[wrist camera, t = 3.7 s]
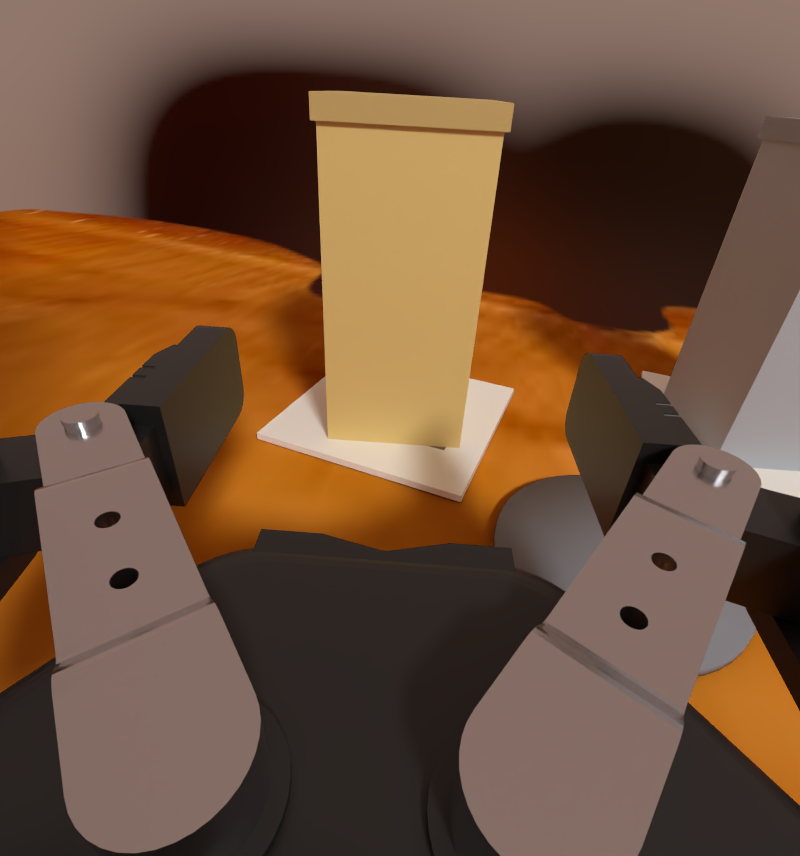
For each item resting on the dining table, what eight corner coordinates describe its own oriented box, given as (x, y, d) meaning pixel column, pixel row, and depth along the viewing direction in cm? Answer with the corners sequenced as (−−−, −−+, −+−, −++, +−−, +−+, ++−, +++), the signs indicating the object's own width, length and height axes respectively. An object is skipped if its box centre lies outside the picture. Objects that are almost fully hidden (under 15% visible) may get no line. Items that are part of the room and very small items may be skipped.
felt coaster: (463, 612, 15) (465, 603, 15) (520, 461, 21) (522, 454, 21) (776, 730, 12) (784, 722, 12) (735, 521, 19) (740, 513, 18)
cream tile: (257, 438, 21) (256, 433, 21) (354, 356, 28) (354, 351, 28) (460, 502, 19) (461, 496, 19) (513, 393, 26) (514, 388, 26)
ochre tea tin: (323, 440, 21) (308, 91, 14) (343, 375, 26) (339, 90, 19) (463, 450, 21) (514, 103, 14) (457, 382, 26) (493, 100, 19)
